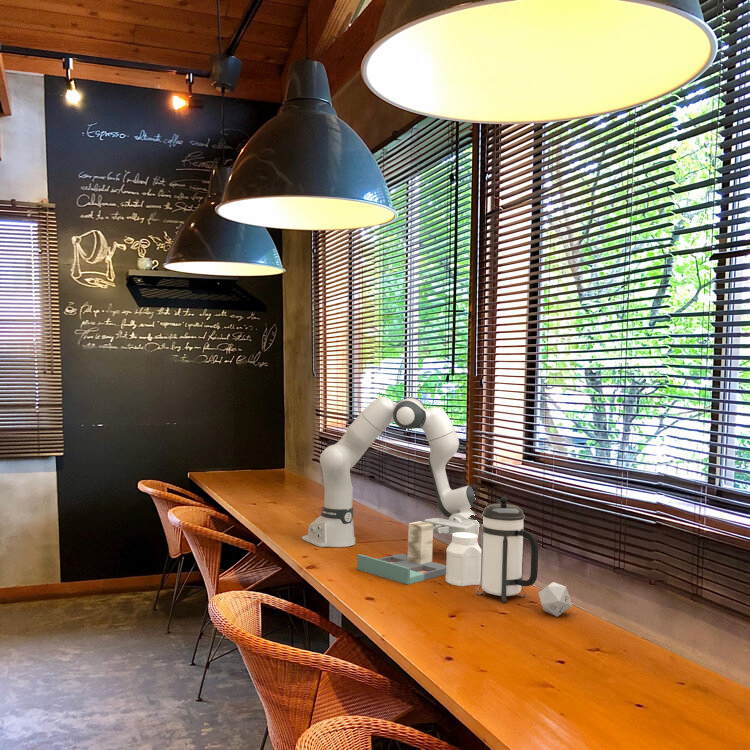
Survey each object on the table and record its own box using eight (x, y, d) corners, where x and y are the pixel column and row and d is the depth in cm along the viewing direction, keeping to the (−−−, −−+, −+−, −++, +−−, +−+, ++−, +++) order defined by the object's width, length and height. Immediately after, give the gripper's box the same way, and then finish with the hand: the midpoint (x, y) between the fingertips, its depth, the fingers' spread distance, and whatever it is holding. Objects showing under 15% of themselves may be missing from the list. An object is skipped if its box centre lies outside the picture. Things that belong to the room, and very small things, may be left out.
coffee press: (476, 602, 204) (479, 499, 205) (475, 586, 220) (478, 491, 221) (536, 607, 202) (539, 503, 202) (532, 590, 218) (534, 494, 218)
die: (540, 619, 193) (562, 595, 190) (527, 595, 201) (548, 571, 198) (561, 627, 197) (584, 602, 194) (548, 602, 204) (569, 579, 201)
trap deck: (356, 569, 236) (357, 554, 236) (400, 559, 252) (401, 545, 252) (407, 584, 220) (408, 568, 220) (451, 572, 236) (451, 557, 236)
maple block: (407, 560, 242) (408, 523, 242) (418, 558, 246) (420, 521, 246) (420, 564, 238) (421, 526, 238) (432, 561, 242) (433, 524, 242)
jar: (454, 587, 219) (456, 539, 220) (440, 578, 228) (442, 532, 228) (486, 584, 224) (488, 537, 224) (471, 576, 233) (473, 530, 233)
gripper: (437, 512, 264) (413, 517, 255) (482, 520, 250) (458, 525, 240) (437, 529, 264) (413, 534, 255) (482, 538, 250) (458, 544, 240)
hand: (435, 530), depth 247 cm, fingers closed
